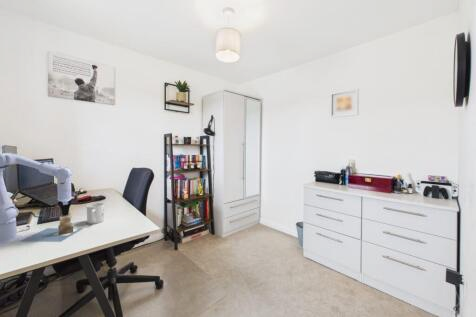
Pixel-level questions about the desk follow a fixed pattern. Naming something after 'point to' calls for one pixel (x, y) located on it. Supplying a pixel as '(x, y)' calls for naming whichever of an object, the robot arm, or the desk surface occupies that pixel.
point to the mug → (95, 213)
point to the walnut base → (65, 230)
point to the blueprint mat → (49, 235)
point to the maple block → (65, 221)
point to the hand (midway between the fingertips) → (65, 214)
